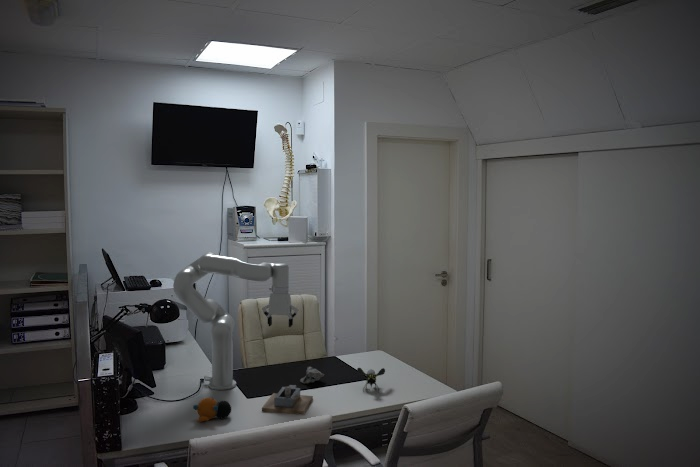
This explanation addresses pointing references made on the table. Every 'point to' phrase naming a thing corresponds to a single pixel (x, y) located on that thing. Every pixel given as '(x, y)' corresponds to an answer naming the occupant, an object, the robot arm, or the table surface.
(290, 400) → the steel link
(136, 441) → the table surface
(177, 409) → the table surface
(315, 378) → the mineral specimen
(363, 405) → the table surface
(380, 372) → the insect
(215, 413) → the toy
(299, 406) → the keeper board
